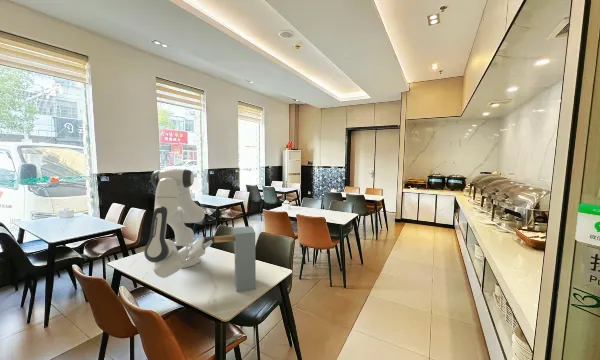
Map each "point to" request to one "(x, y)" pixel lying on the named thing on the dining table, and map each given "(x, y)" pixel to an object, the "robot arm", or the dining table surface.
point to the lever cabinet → (245, 259)
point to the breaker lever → (220, 238)
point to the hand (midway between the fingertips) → (212, 239)
